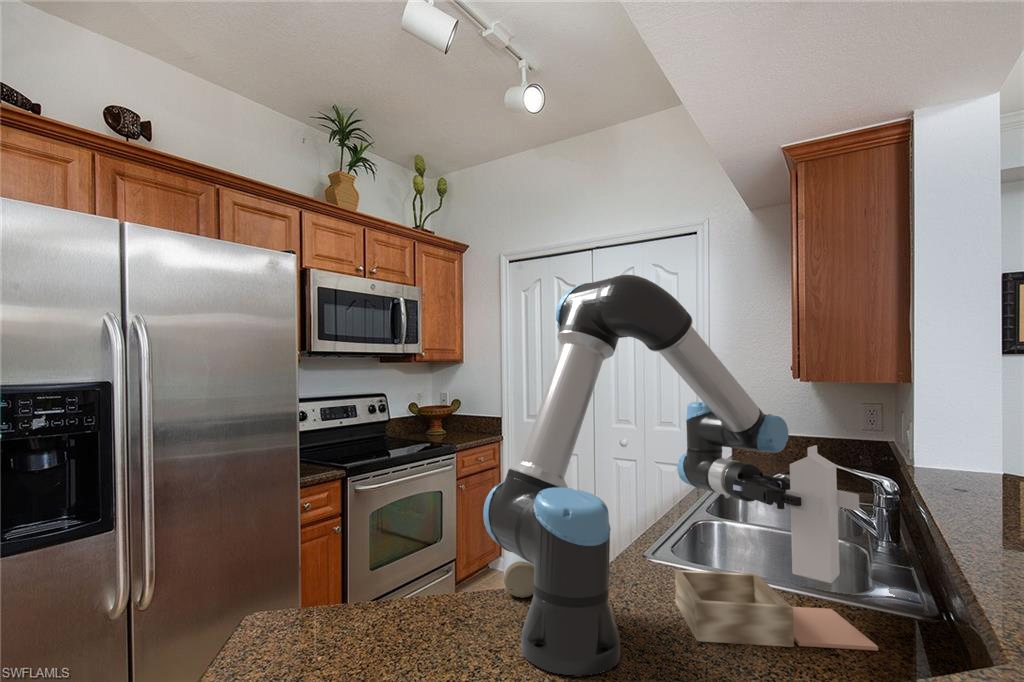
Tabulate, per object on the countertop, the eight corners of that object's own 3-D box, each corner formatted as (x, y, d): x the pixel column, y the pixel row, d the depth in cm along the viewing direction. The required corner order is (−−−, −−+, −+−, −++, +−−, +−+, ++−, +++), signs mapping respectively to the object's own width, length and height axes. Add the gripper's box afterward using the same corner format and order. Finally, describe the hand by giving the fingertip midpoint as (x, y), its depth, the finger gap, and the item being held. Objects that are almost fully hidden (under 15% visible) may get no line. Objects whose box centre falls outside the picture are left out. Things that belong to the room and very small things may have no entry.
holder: (697, 641, 84) (696, 602, 84) (675, 602, 99) (675, 569, 99) (794, 647, 82) (793, 607, 83) (757, 607, 97) (756, 573, 98)
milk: (792, 574, 90) (787, 446, 92) (802, 566, 95) (797, 443, 96) (832, 584, 86) (826, 449, 88) (840, 574, 90) (835, 446, 92)
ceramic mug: (501, 599, 98) (503, 557, 99) (505, 583, 107) (506, 544, 107) (557, 603, 98) (559, 561, 98) (556, 586, 106) (558, 547, 107)
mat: (799, 645, 83) (798, 641, 83) (763, 608, 97) (763, 605, 97) (878, 650, 82) (878, 646, 82) (831, 612, 96) (831, 608, 96)
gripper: (775, 495, 111) (883, 522, 90) (696, 501, 104) (793, 532, 83) (774, 459, 112) (881, 478, 91) (696, 463, 105) (792, 484, 84)
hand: (839, 504), depth 87 cm, fingers closed on milk, 8 cm apart
